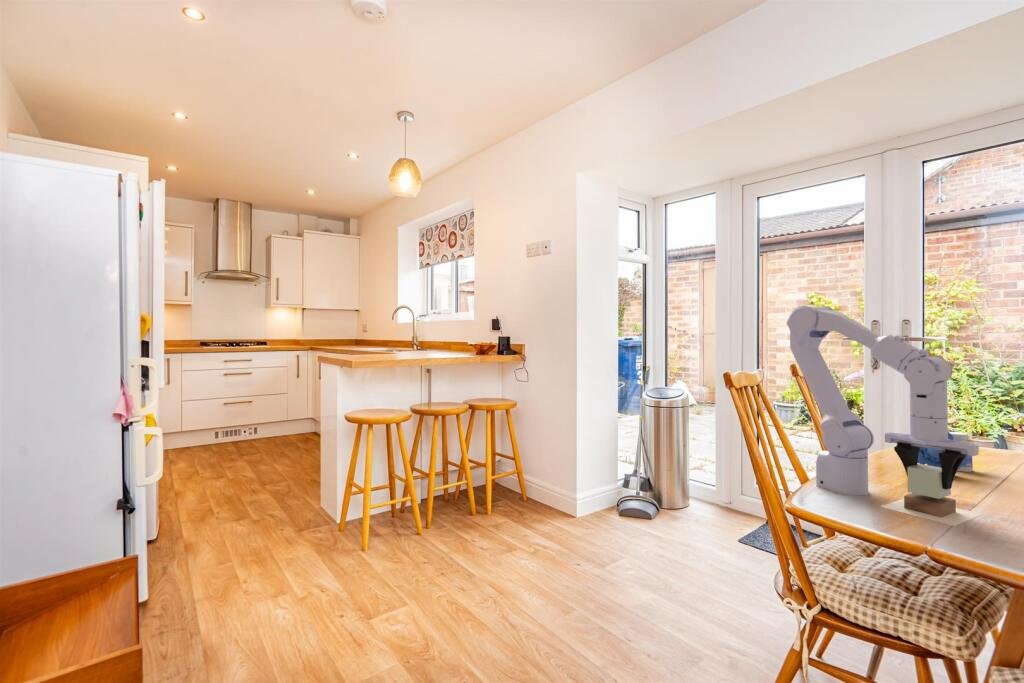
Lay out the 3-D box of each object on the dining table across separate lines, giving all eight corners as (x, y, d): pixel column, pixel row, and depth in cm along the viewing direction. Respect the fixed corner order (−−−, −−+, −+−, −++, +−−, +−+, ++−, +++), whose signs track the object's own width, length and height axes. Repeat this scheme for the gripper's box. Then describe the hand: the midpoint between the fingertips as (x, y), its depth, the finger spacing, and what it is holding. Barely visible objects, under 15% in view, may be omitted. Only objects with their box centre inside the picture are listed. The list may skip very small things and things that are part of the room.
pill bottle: (978, 472, 126) (978, 434, 126) (958, 472, 126) (957, 435, 126) (959, 466, 131) (958, 431, 131) (939, 467, 131) (938, 431, 131)
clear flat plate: (879, 510, 99) (879, 506, 99) (909, 500, 105) (909, 496, 105) (954, 530, 89) (954, 525, 89) (982, 518, 94) (982, 514, 94)
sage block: (907, 491, 98) (907, 467, 98) (920, 488, 100) (919, 463, 100) (938, 498, 93) (938, 472, 93) (950, 494, 96) (950, 469, 96)
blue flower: (904, 472, 127) (904, 426, 127) (909, 467, 131) (908, 423, 131) (965, 481, 118) (964, 432, 118) (967, 475, 123) (967, 428, 123)
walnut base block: (904, 508, 98) (904, 495, 98) (918, 503, 101) (918, 491, 101) (941, 517, 93) (941, 504, 93) (955, 512, 95) (955, 499, 95)
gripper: (876, 413, 101) (877, 478, 101) (966, 423, 88) (967, 498, 88) (894, 410, 105) (895, 473, 105) (983, 420, 92) (984, 492, 92)
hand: (929, 484), depth 97 cm, fingers closed on sage block, 5 cm apart
